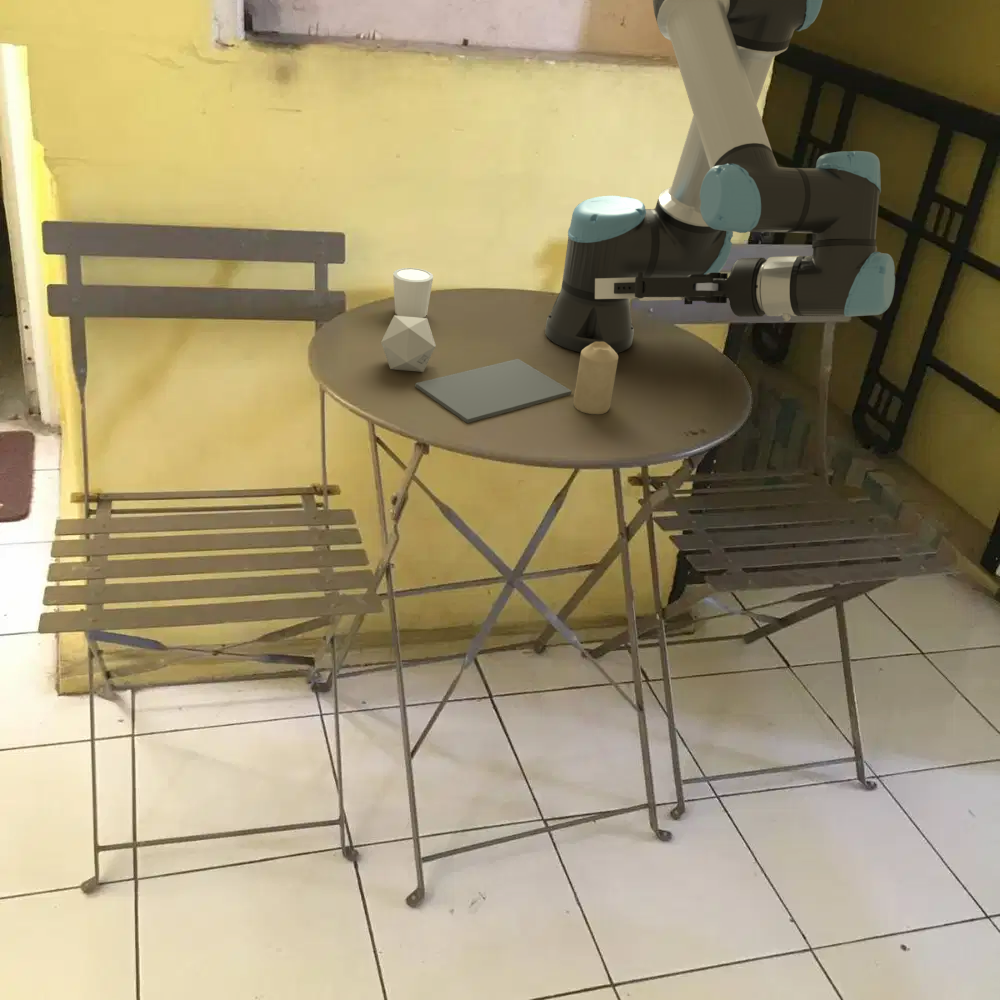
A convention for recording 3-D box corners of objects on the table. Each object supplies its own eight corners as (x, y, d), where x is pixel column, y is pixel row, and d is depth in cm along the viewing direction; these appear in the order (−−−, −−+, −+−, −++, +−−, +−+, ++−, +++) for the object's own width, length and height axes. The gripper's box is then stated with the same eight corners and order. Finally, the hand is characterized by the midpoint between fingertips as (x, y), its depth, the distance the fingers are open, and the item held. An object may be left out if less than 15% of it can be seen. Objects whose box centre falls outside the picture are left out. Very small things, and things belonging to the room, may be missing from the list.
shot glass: (415, 323, 173) (417, 284, 170) (383, 312, 176) (385, 273, 172) (438, 313, 178) (441, 274, 175) (407, 302, 181) (409, 264, 177)
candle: (610, 416, 151) (621, 354, 145) (573, 413, 151) (583, 350, 145) (607, 400, 155) (618, 339, 150) (572, 396, 155) (581, 335, 150)
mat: (517, 362, 164) (518, 358, 164) (571, 394, 156) (571, 390, 155) (415, 386, 153) (415, 383, 152) (467, 423, 144) (467, 419, 144)
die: (412, 388, 154) (450, 336, 152) (365, 353, 152) (403, 301, 151) (414, 383, 162) (449, 334, 160) (369, 350, 160) (405, 301, 159)
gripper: (729, 316, 122) (575, 316, 134) (795, 316, 143) (656, 317, 154) (731, 252, 121) (575, 258, 133) (797, 261, 141) (657, 266, 153)
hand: (618, 290), depth 143 cm, fingers open, 13 cm apart
